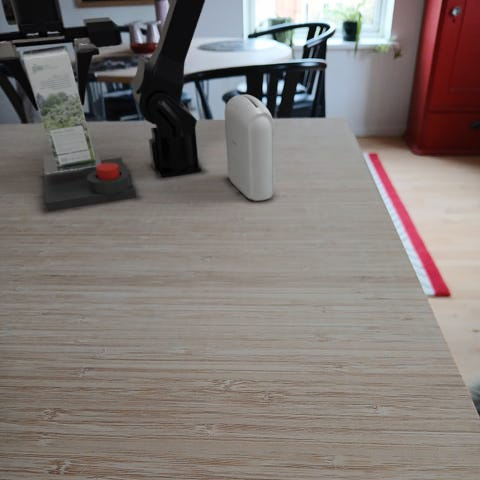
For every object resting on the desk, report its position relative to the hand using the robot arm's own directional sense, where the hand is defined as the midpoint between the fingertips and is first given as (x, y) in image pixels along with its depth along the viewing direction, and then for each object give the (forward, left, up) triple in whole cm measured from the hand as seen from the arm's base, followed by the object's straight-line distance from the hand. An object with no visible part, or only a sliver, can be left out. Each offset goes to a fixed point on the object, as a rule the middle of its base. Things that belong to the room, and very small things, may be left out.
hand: (60, 107), depth 71 cm
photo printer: (-23, +13, -11) cm, 29 cm away
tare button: (-4, +7, -8) cm, 12 cm away
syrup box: (0, 0, -8) cm, 8 cm away
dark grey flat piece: (-1, +3, -11) cm, 11 cm away
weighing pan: (0, 0, -8) cm, 8 cm away
